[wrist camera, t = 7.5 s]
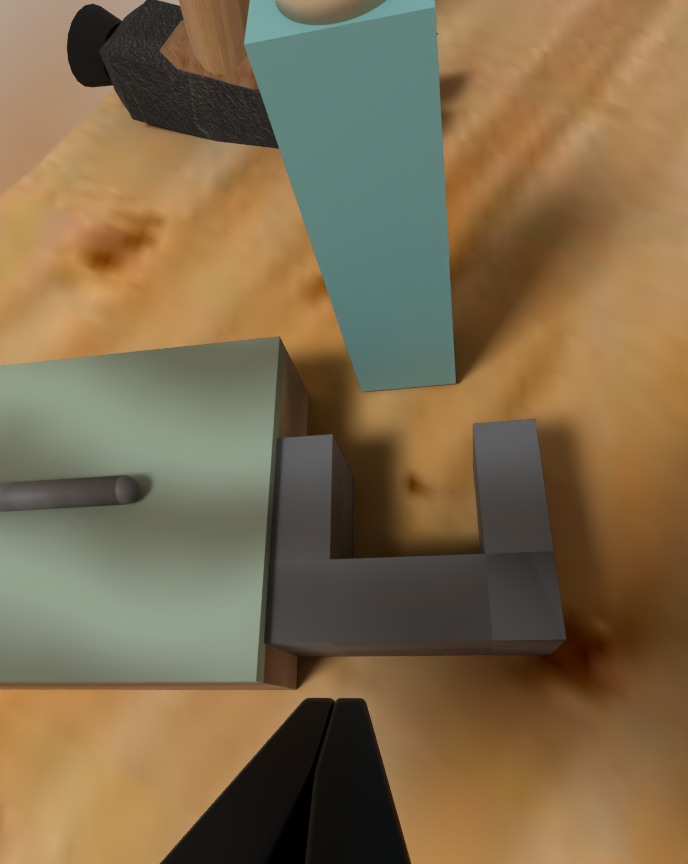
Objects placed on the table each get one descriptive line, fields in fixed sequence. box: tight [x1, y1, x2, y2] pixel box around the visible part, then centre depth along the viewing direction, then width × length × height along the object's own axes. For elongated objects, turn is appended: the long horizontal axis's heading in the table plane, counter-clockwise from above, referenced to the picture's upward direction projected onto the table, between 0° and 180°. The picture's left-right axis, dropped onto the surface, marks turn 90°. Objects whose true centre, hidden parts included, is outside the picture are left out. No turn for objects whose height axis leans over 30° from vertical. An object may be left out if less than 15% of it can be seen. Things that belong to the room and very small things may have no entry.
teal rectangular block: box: [244, 0, 456, 392], centre depth 19 cm, size 3×4×16 cm
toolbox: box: [0, 336, 566, 690], centre depth 22 cm, size 12×27×6 cm, turn 89°
